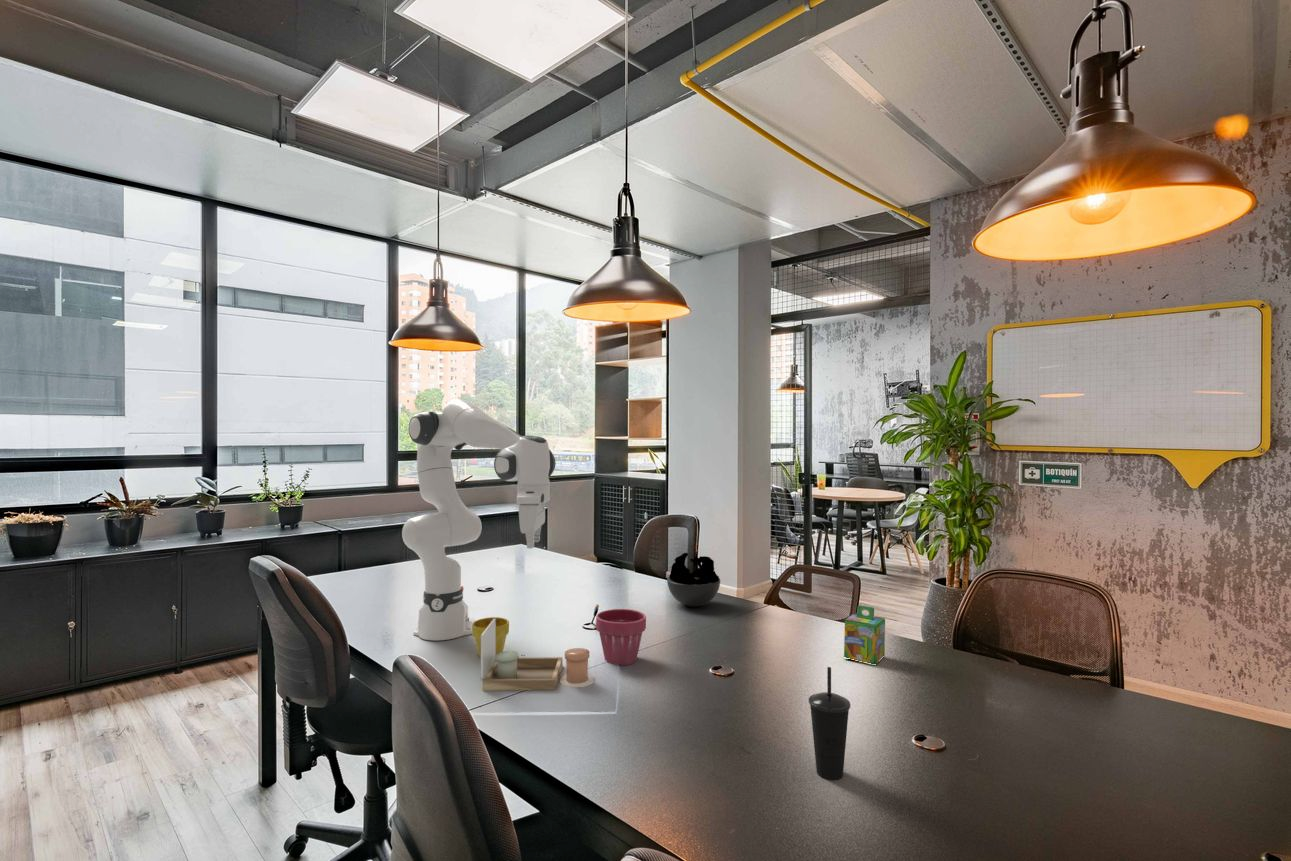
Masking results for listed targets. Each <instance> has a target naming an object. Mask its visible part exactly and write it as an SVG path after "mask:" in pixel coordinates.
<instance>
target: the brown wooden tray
mask: <svg viewBox="0 0 1291 861" xmlns="http://www.w3.org/2000/svg"><path fill="white" fill-rule="evenodd" d="M562 668H563V656H561V657H560V656H556V657H555V656H554V657H553V656H551V657H549V656H548V657H545V656H544V657H543V656H542V657H538V656H537V657H533V656H532V657H529V656H527V657H519V658H518V660H517V678H516V679H497V661H495V663H494V664H493V666H492V668H491V669H490V671H489V672H488V674H487V676H486V677H485V679H483V681H482V691H483V692H484V691H488V692H489V691H492V692H493V691H555V690H556V688H557V684H558V682H559V680H560V675H561V671H562Z"/></svg>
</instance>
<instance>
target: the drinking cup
mask: <svg viewBox="0 0 1291 861" xmlns="http://www.w3.org/2000/svg"><path fill="white" fill-rule="evenodd" d="M826 669H827V671H826V673H827V674H826V675H827V677H826V679H827V682H826V685H827V692H826V691H824V692H819V693H818V692H817V693H815V694H814V693H813V694H811V695H810V696H809V697H808V704H809V706H810V716H811V726H812V727H811V728H812V735H813V736H812V737H813V748H814V749H813V750H814V758H815V768H816V774H817V775H818V776H819V777H820V778H823V779H826V780H830V781H837V780H841V779H842V778H843V776H844V769H845V753H846V748H847V747H846V746H847V745H846V744H847V732H848V721H849V711H850V709H851V701H850V700H848V699H847V698H846V697H844V696H842V695H839V694H837V693H834V692H832V667H830V666H828V667H827V668H826Z"/></svg>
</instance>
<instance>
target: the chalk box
mask: <svg viewBox="0 0 1291 861" xmlns="http://www.w3.org/2000/svg"><path fill="white" fill-rule="evenodd" d="M864 611H867V612H868V614H866V613H863V612H864ZM885 638H886V619H885V618H884V617H880V616H875V607H872V606H867V605H857V610H856V612H854V613H852V614H851V615H849V616H848V617H846V618H845V619H844V639H843V640H844V642H843V644H844V646H843V658H844V657H846V658H850V659H854V660H858V661H862V662H867V663H871V664H877V663H878V662H879V660H880V659H881V658H882V657H883V656H884V657H885V653H886V652H885V651H886V649H885V647H886V646H885V645H886V643H885V642H886V639H885ZM879 663H880V662H879ZM879 663H878V664H879ZM878 664H877V665H878Z"/></svg>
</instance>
